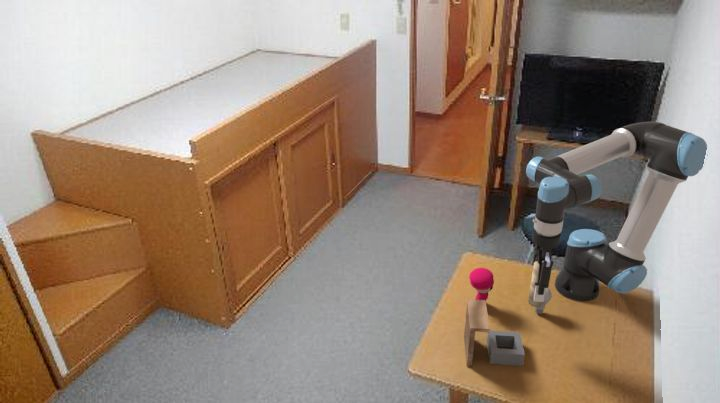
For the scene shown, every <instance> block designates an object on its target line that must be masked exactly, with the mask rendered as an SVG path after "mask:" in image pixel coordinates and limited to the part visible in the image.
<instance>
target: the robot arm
mask: <svg viewBox="0 0 720 403" xmlns="http://www.w3.org/2000/svg"><path fill="white" fill-rule="evenodd" d="M707 148H708V144H707V142H706V141H705V139H704V138H702V137H700V136H698V135H696V134H695V133H692V132H689V131H686V130H683V129H679V128H677V127H674V126H671V125H667V124H665V123H662V122H659V121H642V122H635V123H630V124H627V125H624V126H621V127H618V128H616V129H614V130H613V131H612V133H611V134H610V135H606V136H604V137H602V138H599V139H597V140H595V141H592V142H589V143H587V144H585V145H581V146H578V147H577V148H574V149H572V150H569V151H567V152H564V153H561V154H560V155H557V156H556V155H555V156H554V157H551V158H549V159H547V157H546V158H545V157H542V156H535V157H533V158H532V159H530V161H529V162H528V163H527V165H526V169H525V174H526V176H527V178H528V179H529V180H531V181H532V182H534V183H535V184H536V185H539V187H538V188H539V189H538V191H537V197H536V198H537V200H536V207H535V215H534V217H535V218H533V219H532V223H533V230H532V234H531V235H532V236H531V241H532V243H533V244H534V249H533V250H534V251H533V256H532V263H531V264H532V266H533V265H534V262H536V261H538V263H539V271H538V282H537V283H535V286H536V287H535V294H534V302H543V301H544V295H545V289H546V288H549V287H550V286H549V285H550V280H551V274H552V268H553V266H554V261H553V260H552V257H553V255H554V254H553V252H554V250H553V249H554V248H556V247H558V246H559V245H560V241H561V237H562V236H561V235H562V231H563V227H564V218H565V214H566V211H567V210H570V209H573V208H574V207H578V206H581V205H585V204H589V203H591V202H592V201H595V200H597V199H598V198H599V197H600V196H601V194H602V190H603V188H602V184H601V181H600V179H599V178H598V177H597V176H595V175H593V174H582V173H585V172H588V171H589V170H593V169H594V168H597V167H600V166H602V165H604V164H606V163H609V162H611V161H614V160H616V159H619V158H621V157H622V158H630V157H632V156H638V157H642V158H643V159H647V160H648V162H647V164H646V169H647V171H648V175H647V176H646V178H645V181H644V183H643V185H642V186H641V189H640V191H639V193H638V195H637V197H636V200H635V201H634V203H633V205H632V207H631V209H630V211H629V213H628V215H627V217H626V220H625V221H624V224H623V226H622V228H621V230H620V232H619V234H618V236H617V238H616V239H615V240H614V241H611V242H609V243H606V242H607V237H606V234H604V233H603V232H601V231H599V230H596V229H591V228H582V229H581V228H580V229H576V230H573V231H572V232H571V233H570V234H569V236H568V240H567V241H566V249H565V256H564V262H563V266H562V268H561V269H560V271H559V272H558V274H557V275H556V277H555V281H554V287H555V289H556V291H557V292H558V293H559V294H561V295H562V296H564V297H565V298H567V299H569V300H570V299H571V300H573V301H578V302H589V301H592V300H595V299H597V297H599V295H600V290H601V285H600V283H602V284H603V285H605V286H606V287H607V288H609V289H611V290H613V291H614V292H616V293H618V294H622V295H623V294H624V295H625V294H628V293H631V292H632V291H634V290H636V289H637V288H638V287H639V286H640V285H641V284H642V283H643V282H644V280H645V279H646V277H647V274H648V268H646V266H645V265H644V263H645V261H646V259H647V258H646V256H645V253H644V251H645V250H646V247H647V246H648V244H649V242H650V240H651V238H652V235H653V234H654V232H655V230H656V228H657V226H658V224H659V223H660V220H661V218H662V217H663V214H664V213H665V210H666V209H667V207H668V204H669V203H670V201H671V199H672V197H673V195H674V193H675V191H676V189H677V187H678V185H680V184H681V183H684V182H686V181H687V180H688V178H689V177H693V176H696V175H698V174H699V172H700V171H702V169H703V168H704V166H703V164H704V159H705V155H706V150H707ZM704 165H705V164H704ZM579 174H582V175H579Z"/></svg>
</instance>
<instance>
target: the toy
mask: <svg viewBox="0 0 720 403" xmlns="http://www.w3.org/2000/svg"><path fill="white" fill-rule="evenodd" d="M469 284H470V285H471V287H472V288H474V289H475V290H476V296H475V299H474V300H485V301H486V302H487V300H488V298H489V292H490V291H492V290H493V287H494V284H495V280H494V274H493V272H492V271H491V270H490V269H488V268H486V267H477V268H476V267H475V269H473V270H471V272H470V273H469Z"/></svg>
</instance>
